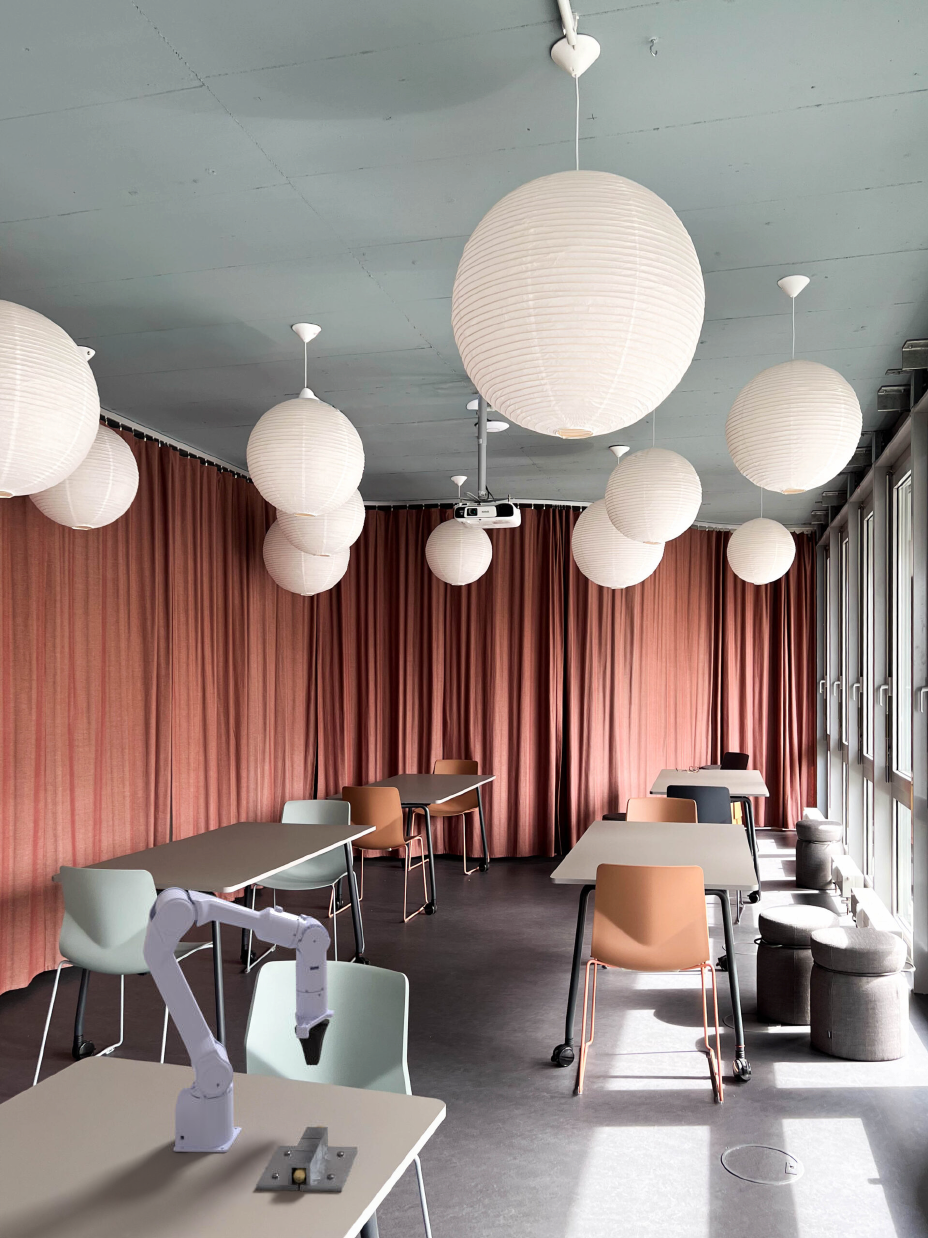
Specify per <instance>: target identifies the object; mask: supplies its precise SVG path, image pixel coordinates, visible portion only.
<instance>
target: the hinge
mask: <svg viewBox="0 0 928 1238" xmlns="http://www.w3.org/2000/svg"><path fill="white" fill-rule="evenodd" d="M328 1129H329V1128H328V1126H323V1127H317V1126H306V1128H305V1130H304V1131H303V1133H302V1135H301V1138H300V1139H299V1141H298V1143H297V1145H278V1146H277V1147H276V1150H275V1151H274V1153H273V1155H272V1156H271V1158H270V1160H269V1161H268V1163H267V1165H266V1167H265V1169H264V1171H263V1172H262V1173H261V1175H260V1178H259V1179H258V1181H257V1183H256V1190H259V1191H261V1190H262V1191H267V1190H268V1191H298V1190H300V1191H302V1192H303V1191H309V1192H310V1191H311V1192H343V1189H344V1187H345V1185H346V1182H347V1179H348V1177H349V1173H350V1172H351V1169H352V1166H353V1163H354V1162H355V1159H356V1156H357V1154H358V1146H334V1145H333V1146H331V1145H330V1146H329V1136H328V1135H329V1130H328ZM297 1168H306V1177H305V1179H304V1181H303V1182H300V1183H298V1182H296V1181H295V1180H294V1173H295V1171H296V1169H297Z"/></svg>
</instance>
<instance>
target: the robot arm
mask: <svg viewBox="0 0 928 1238" xmlns="http://www.w3.org/2000/svg"><path fill="white" fill-rule="evenodd" d="M187 891H188V892H187ZM187 891H186V890H184V889H183V888H180V887H169V888H166V889H164V890H163V891H161V892H160V893H159V894H158V895H157V897H156V898H155V900H154V902H153V904H152V906H151V907H150V909H149V913H148V921H147V926H146V932H145V937H144V941H143V942H144V943H143V949H142V953H143V954H142V955H143V958H144V961H145V964H146V966H147V967H148V968H147V969H148V970H149V972H150V974H151V975H152V978H153V980H154V982H155V984H156V987H157V989H158V990H159V993H160V995H161V997H162V999H163V1002H164V1003H165V1005H166V1007H167V1010H168V1012H169V1014H170V1016H171V1019H172V1020H173V1022H174V1024H175V1027H176V1028H177V1030H178V1033H179V1034H180V1037H181V1040H182V1041H183V1044H184V1046H185V1047H186V1051H187V1053H188V1055H189V1058H190V1065H191V1068H192V1070H193V1071H192V1072H193V1075H194V1081H193V1082H192V1085H191V1086H190V1087H184V1088H182V1089H181V1090H180V1091H179V1094H178V1096H177V1099H176V1104H175V1111H174V1124H175V1125H174V1127H175V1129H174V1131H175V1132H174V1133H175V1134H174V1135H175V1138H174V1139H175V1143H174V1145H175V1146H174V1147H173V1152H181V1153H182V1152H183V1153H187V1152H188V1153H228V1151H229V1150H230V1148H231V1147H232V1146H233V1144H234V1142H235V1141H236V1139H237V1138H238V1136H239V1135H240V1134H241V1132H242V1127H239V1126H234V1081H233V1079H234V1070H233V1069H234V1068H233V1066H232V1064H231V1063H230V1060H229V1058H228V1053H227V1049H226V1047H225V1046H224V1044H222V1043H221V1042H220V1041H218V1040H217V1039H216V1038H215V1037H214V1035H213V1033H212V1031H211V1029H210V1027H209V1026H208V1024H207V1021H206V1020H205V1018H204V1015H203V1013H202V1011H201V1009H200V1007H199V1005H198V1003H197V1001H196V997H194V995H193V992H192V990H191V987H190V985H189V984H188V981H187V980H186V977H185V975H184V973H183V971H182V968H181V966H180V964H179V962H178V961H177V957H176V956H175V951H176V949H177V947H178V945H179V942H180V940H181V939H182V937H183V936H185V934H186V933H187V932H188V931H189V930H190V928H191V927H192V926H193V924H194V922H195V924H196V927H200V926H202V925H205V924H207V923H209V922H212V921H216V922H219V923H223V924H226V925H227V924H228V925H232V926H236V927H239V928H245V929H248V930H252V931H254V934H255V936H256V938H257V939H258V940H260V941H263V942H267V943H271V944H274V945H278V946H280V947H284V948H287V949H295V951H296V952H295V955H296V956H295V957H296V958H295V959H296V961H295V1009H296V1010H295V1013H294V1014H295V1015H294V1019H295V1023H296V1025H295V1026H294V1034H295V1037H296V1039H298V1041H299V1043H300V1045H301V1049H302V1052H303V1057H304V1061H305V1065H306V1066H318V1064H319V1063H320V1061H321V1055H322V1050H323V1044H324V1040H325V1035H326V1032H327V1029H328V1027H329V1024H330V1021H331V1020H330V1019H331V1018H333V1017H334V1016H335V1010H333V1009H332V1010H331V1009H329V1005H328V996H329V995H328V961H327V950H328V949H329V947H330V945H331V938H330V935H329V932H328V930H327V929H326V927H325V926H324V925H322V923H321V922H320V921H319V920H317V919H315V918H313V917H312V916H308V915H305V914H300V915H296V914H292V913H290V912H285V911H284V909H283V907H281V906H278V905H275V907H274V908H273V907H270V906H269V907H265V909H262V910H260V911H257V910H254V909H251V908H248V907H245V906H242V905H240V904H236V903H233V902H231V901H228V900H225V899H222V898H220V897H217V896H214V895H210V894H207V893H203V892H201V891H200V892H199V891H196V890H191V889H187Z"/></svg>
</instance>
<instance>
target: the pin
mask: <svg viewBox="0 0 928 1238" xmlns="http://www.w3.org/2000/svg"><path fill="white" fill-rule="evenodd" d="M316 1127H324V1126H323V1125H317V1126H316ZM305 1177H306V1168H297V1169H296V1171H295V1173H294V1180H295V1181H296V1182H298V1183H300V1182H303V1181H304V1179H305Z"/></svg>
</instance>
